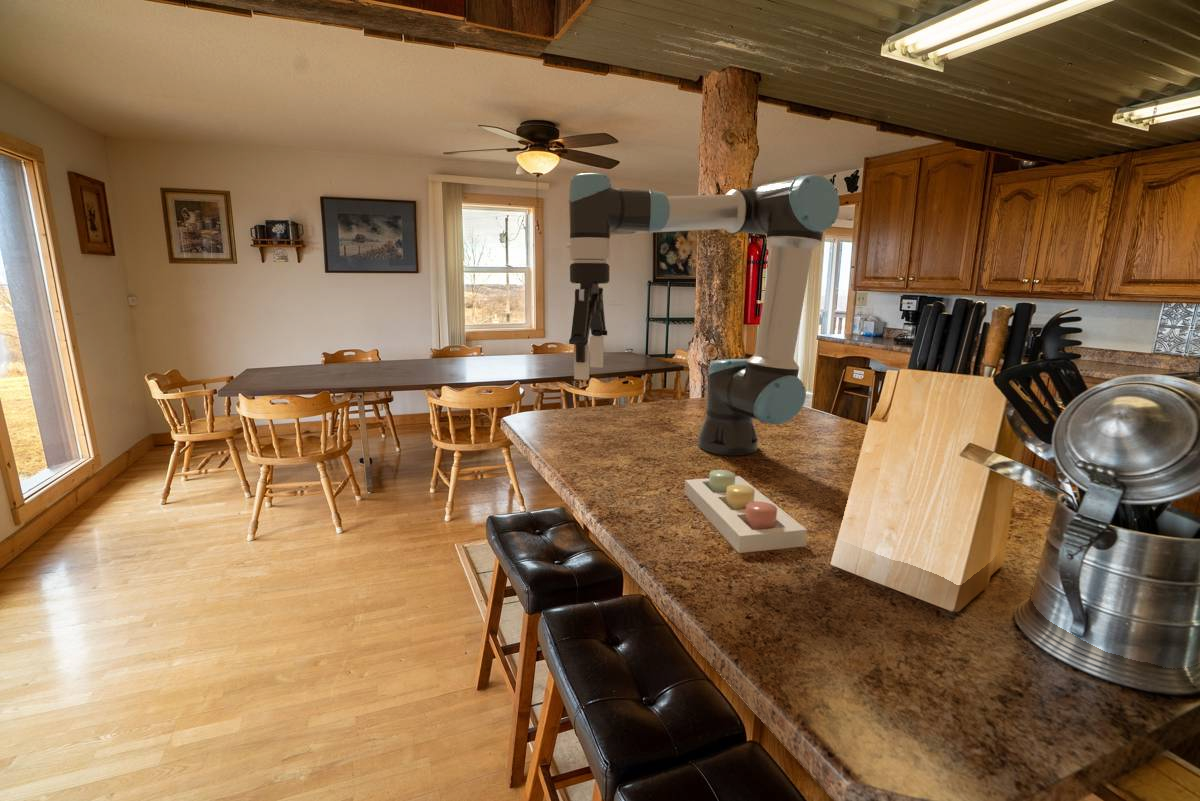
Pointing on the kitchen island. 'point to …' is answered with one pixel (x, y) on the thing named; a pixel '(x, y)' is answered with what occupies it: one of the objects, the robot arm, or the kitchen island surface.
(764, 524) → the brick button
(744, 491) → the ochre button
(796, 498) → the kitchen island surface
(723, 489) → the sage button
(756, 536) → the panel
